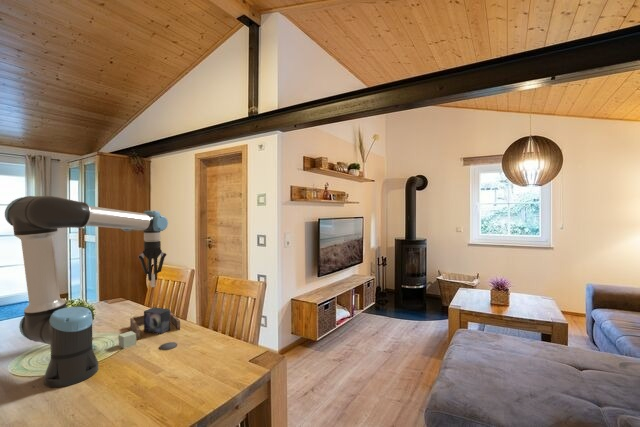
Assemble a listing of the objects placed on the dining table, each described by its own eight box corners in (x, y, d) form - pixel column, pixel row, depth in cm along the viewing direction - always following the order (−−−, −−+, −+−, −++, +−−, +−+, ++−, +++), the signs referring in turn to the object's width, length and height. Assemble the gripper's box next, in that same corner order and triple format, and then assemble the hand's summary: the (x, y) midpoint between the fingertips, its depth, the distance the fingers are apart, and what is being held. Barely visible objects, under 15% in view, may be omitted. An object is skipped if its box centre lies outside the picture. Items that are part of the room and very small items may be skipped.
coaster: (179, 346, 132) (179, 346, 132) (161, 351, 127) (161, 350, 127) (174, 341, 137) (174, 340, 137) (157, 345, 133) (157, 345, 133)
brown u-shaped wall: (180, 329, 151) (180, 320, 151) (137, 339, 139) (137, 330, 139) (169, 318, 166) (169, 310, 166) (130, 326, 154) (130, 318, 154)
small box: (142, 332, 148) (142, 311, 147) (153, 327, 154) (153, 306, 154) (160, 335, 144) (160, 313, 144) (170, 329, 151) (170, 308, 151)
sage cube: (136, 344, 134) (136, 333, 134) (123, 349, 130) (123, 337, 130) (131, 341, 137) (131, 330, 137) (118, 346, 133) (118, 334, 133)
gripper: (164, 239, 163) (164, 283, 163) (136, 241, 154) (136, 287, 155) (168, 240, 157) (168, 285, 157) (139, 242, 148) (139, 290, 149)
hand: (152, 286), depth 156 cm, fingers closed
